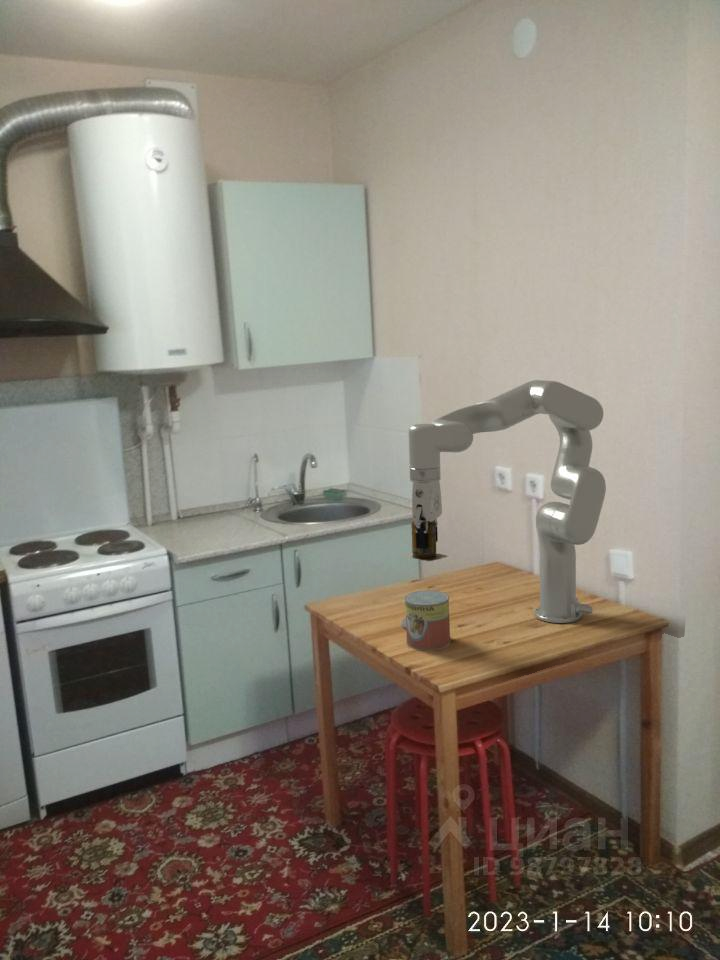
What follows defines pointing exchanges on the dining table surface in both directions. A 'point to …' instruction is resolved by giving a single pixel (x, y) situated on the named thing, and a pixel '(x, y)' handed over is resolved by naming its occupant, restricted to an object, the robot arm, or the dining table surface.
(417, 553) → the condiment
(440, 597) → the canned food
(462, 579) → the dining table surface
